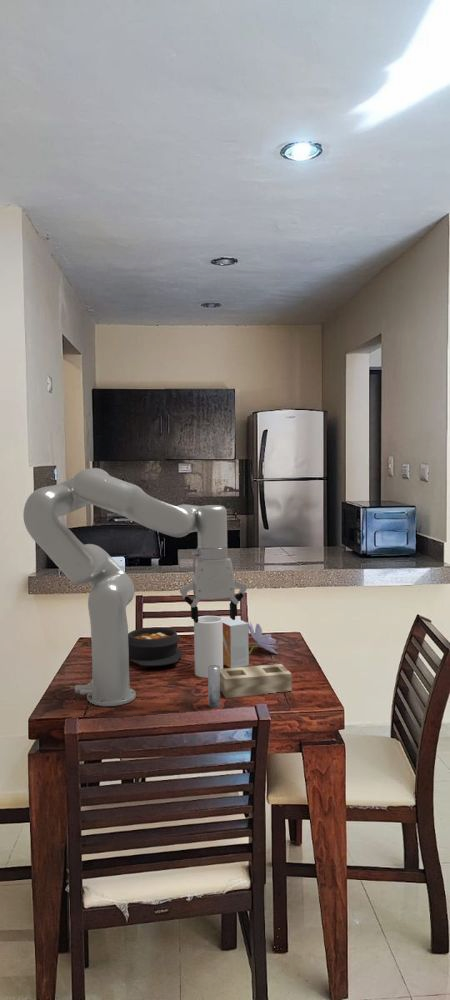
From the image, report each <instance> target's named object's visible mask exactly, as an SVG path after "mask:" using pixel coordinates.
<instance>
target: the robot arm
mask: <svg viewBox="0 0 450 1000" xmlns="http://www.w3.org/2000/svg"><path fill="white" fill-rule="evenodd" d="M89 505H93V506H96V507H98V508H101V509H104V510H106V511H109V512H112V513H114V514H117V515H120V516H122V517H125V518H127V519H129V520H130V521H132V522H135V523H137V524H139V525H141V526H143V527H145V528H147V529H150V530H152V531H155V532H159V533H161V534H163V535H167V536H168V537H169V536H170V537H173V538H183V537H186V536H187V535H189V534H190V533H195V532H196V533H197V547H196V549H195V550H193V549H192V551H191V555H192V556H194V557H197V558H196V559H195V563H194V568H193V582H190V583H189V584H187V585H186V586H184V587H182V588H181V589H180V590H179V593H180V594H181V596H182V598H183V600H184V601H185V602H186V603H187V604H188V605H189V606H190V619H191V620H193V623H194V622H195V623H197V622H198V617H199V608H198V606H197V605H198V603H199V602H200V601H210V600H211V601H213V600H225V599H229V600H230V603H229V619H230V618H231V619H232V620H235V618H236V617H237V616H238V604H239V602H240V601H241V600H242V599H243V598H244V595H245V594H246V591H247V589H248V586H247V585H246V584H243V583H241V582H239V581H237V580H235V577H234V568H233V563H232V558H229V557H228V516H227V515H228V514H227V509H226V507H225V506H224V505H220V504H208V505H194V504H193V505H192V504H185V503H184V504H179V505H177V506H176V505H173V504H170V503H167V502H165V501H162V500H159V499H157V498H155V497H153V496H151V495H149V494H148V493H146V492H145V491H144V490H143V489H142V488H141V487H140V486H138V485H136V484H134V483H131V482H129V481H128V482H127V481H125V480H122V479H120V478H117V477H114V476H112V475H110V474H109V473H108V472H107V471H106V470H104V469H102V468H97V467H92V468H84V469H80V470H79V471H77V473H76V474H75V475H74V476H73V477H72V478H69V479H67V480H64V481H63V482H60V483H56V484H54V485H48V486H47V485H46V486H44V487H40V488H37V489H35V490H34V491H33V492H32V493H30V495H29V496H28V497H27V499H26V502H25V503H24V508H23V522H24V526H25V529H26V531H27V532H28V534H29V536H30V537H31V538H32V539H33V541H34V542H35V543H36V544H37V545H38V546H39V547H40V548H41V550H42V551H43V552H45V554H46V555H47V556H48V558H49V559H50V560H52V562H53V563H54V564H55V566H57V567H58V568H59V570H60V571H61V573H63V575H65V576H66V578H67V579H68V580H69V581H71V582H72V583H73V584H76V585H86V584H88V585H90V586H91V589H90V592H89V594H88V599H87V609H88V615H89V621H90V623H89V624H90V636H91V637H90V640H91V671H92V672H91V674H92V677H91V678H92V679H90V682H89V683H86V684H76V685H74V693H75V694H80V695H83V696H84V695H86V699H87V700H88V701H89V702H90V703H89V702H88V701H87V700H86V701H87V702H88V703H89V704H91V703H92V705H93V704H94V705H93V706H97V705H98V706H99V707H117V706H122V705H125V704H128V703H131V702H133V700H135V699H136V694H137V693H136V690H134V689H133V688H130V661H129V647H128V633H129V627H128V626H129V625H128V618H127V606H128V605H129V604H130V603H131V602H132V600H133V598H134V596H135V586H134V583H133V581H132V579H131V578H130V576H129V575H128V574H127V573H126V571H124V569H123V568H121V566H120V565H119V564H118V563H117V562H116V561H115V560H114V559H113V558H112V556H111V555H110V554H109V553H108V552H107V551H106V550H105V549H103V548H102V547H100V546H99V545H96V544H92V543H87V544H86V543H85V544H84V543H83V542H81V541H80V539H78V538H77V536H76V535H75V533H73V532H72V530H71V529H69V528H68V527H67V526H66V525H64V524H63V523H62V522H61V520H60V519H59V517H63V516H66V515H68V514H71V513H73V512H75V511H77V510H80V509H82V508H85V507H86V506H89ZM235 587H236V588H238V589H239V591H238V592H237V593H236V592H235V591H236V589H235ZM192 590H193V597H192V598H190V597H189V595H188V592H190V591H192ZM235 593H236V595H235ZM98 706H97V707H98Z"/></svg>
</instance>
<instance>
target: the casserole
mask: <svg viewBox="0 0 450 1000" xmlns="http://www.w3.org/2000/svg"><path fill="white" fill-rule="evenodd" d="M177 633H178V632H176V630H174V629H172V628H166V627H144V628H139V629H135V630H132V631H129V632H128V647H129V662H132V663H134V664H137V665H139V666H142V667H161V666H167V665H174V664H176V663H177V662H179V660H180V658H181V656H183V654H184V652H183V650H182V649H181V648H179V647H178V644H179V642H180V640H181V638H180V637H179V635H178V634H177Z"/></svg>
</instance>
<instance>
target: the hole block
mask: <svg viewBox="0 0 450 1000" xmlns="http://www.w3.org/2000/svg"><path fill="white" fill-rule="evenodd" d="M292 687H293V686H292V673H291V672H290V670H289V669H287V668H286V667H285V665H283V663H277V664H276V663H275V664H264V665H252V666H244V667H238V668H229V667H227V668H223V669H220V693H222V695H223V696H224V698H225V699H229V698H241V697H251V696H252V697H253V696H261V695H262V694H265V695H269V694H268V693H275V694H277V693H276V692H285V691H292V690H293V689H292ZM292 692H293V691H292ZM262 696H263V695H262Z"/></svg>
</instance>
